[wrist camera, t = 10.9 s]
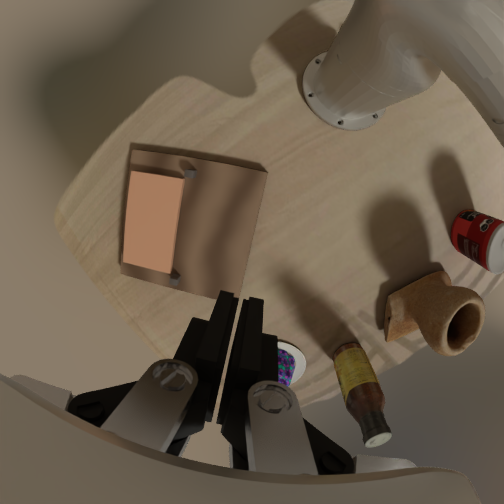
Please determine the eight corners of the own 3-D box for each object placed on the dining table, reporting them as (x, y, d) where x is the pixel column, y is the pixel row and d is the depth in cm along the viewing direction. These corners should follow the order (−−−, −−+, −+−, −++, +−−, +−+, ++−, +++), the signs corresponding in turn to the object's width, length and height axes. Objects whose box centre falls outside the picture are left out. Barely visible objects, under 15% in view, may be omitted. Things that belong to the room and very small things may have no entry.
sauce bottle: (325, 356, 46) (344, 446, 27) (350, 335, 44) (383, 423, 25) (346, 371, 47) (369, 454, 28) (371, 351, 45) (405, 433, 26)
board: (267, 172, 36) (267, 173, 33) (238, 299, 43) (236, 310, 40) (136, 149, 36) (126, 149, 33) (124, 270, 42) (115, 277, 39)
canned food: (482, 215, 35) (521, 230, 25) (470, 255, 38) (506, 278, 27) (456, 202, 35) (498, 217, 25) (444, 246, 38) (482, 270, 27)
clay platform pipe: (445, 251, 38) (498, 287, 24) (447, 306, 41) (489, 350, 27) (372, 282, 40) (411, 335, 26) (381, 336, 44) (411, 393, 30)
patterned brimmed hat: (317, 351, 46) (321, 370, 41) (286, 391, 49) (287, 410, 44) (257, 329, 45) (255, 348, 40) (231, 373, 48) (227, 392, 44)
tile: (131, 170, 34) (134, 170, 35) (123, 261, 39) (126, 259, 40) (183, 179, 34) (185, 178, 36) (170, 273, 39) (172, 270, 40)
